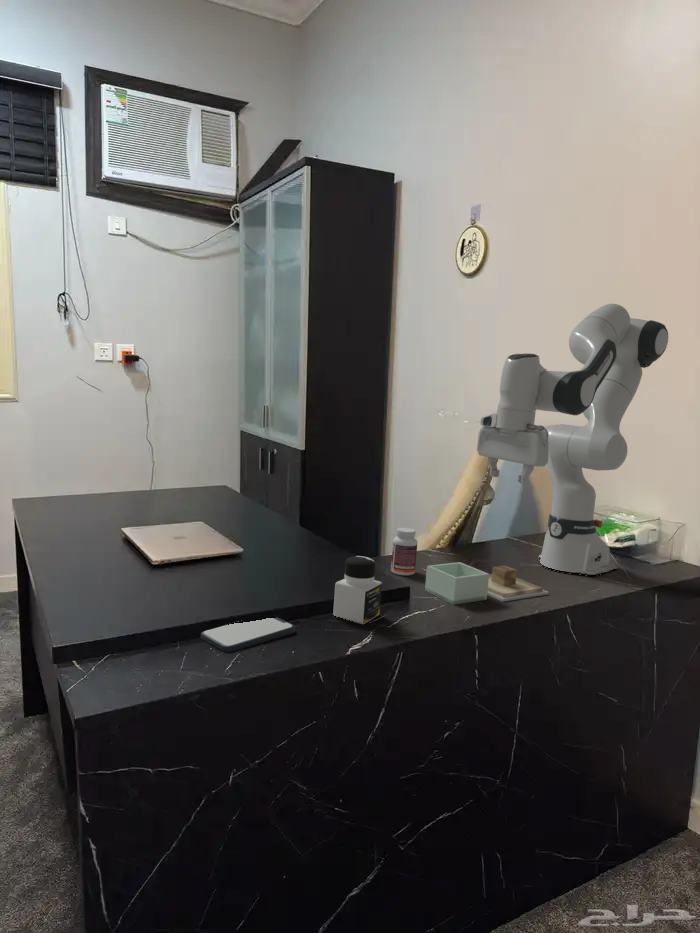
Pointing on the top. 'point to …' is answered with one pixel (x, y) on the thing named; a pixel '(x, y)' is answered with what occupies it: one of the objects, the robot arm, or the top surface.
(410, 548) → the pill bottle
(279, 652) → the top surface
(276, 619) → the phone case
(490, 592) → the mat
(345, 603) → the medicine bottle
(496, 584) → the lid
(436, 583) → the pale green storage bin
